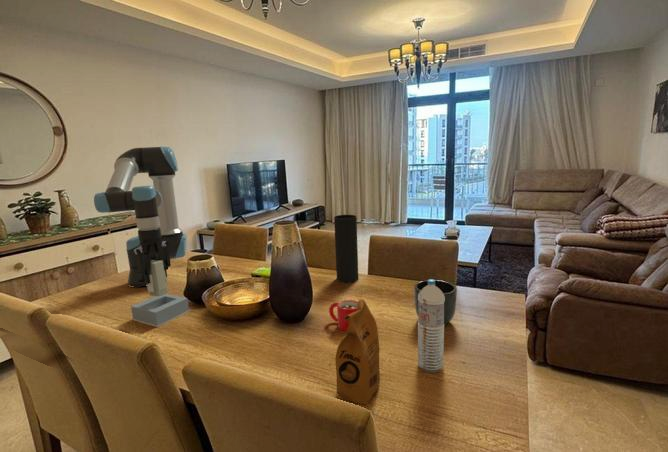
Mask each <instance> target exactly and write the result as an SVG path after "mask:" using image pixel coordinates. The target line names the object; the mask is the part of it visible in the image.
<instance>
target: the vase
mask: <svg viewBox="0 0 668 452" xmlns="http://www.w3.org/2000/svg"><path fill="white" fill-rule="evenodd" d="M333 219H334V220H333V221H334V222H333V223H334V244H335V245H334V247H335V265H336V266H335V269H336V270H335V271H336V280H338V282H339V281H340V282H339V283H342V282H344V283H343V284H351V282H352V283H355V281H356V282H358V280H359V256H358V255H359V254H358V225H357V223H358V222H357V219H358V218H357V215H355V214H339V215H335V216H334V217H333Z"/></svg>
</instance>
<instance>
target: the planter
mask: <svg viewBox="0 0 668 452" xmlns="http://www.w3.org/2000/svg"><path fill="white" fill-rule="evenodd" d="M428 280H429V279H427V280H421V281H418V282H416V283H415V284H414V287H413V291H414V292H413V293H414V296H413V297H414V308H415V312H416V315H417V316H418V309H419V301H418V294H419V292H420V291H421V290H422V289H423V288H424V287H425V286H427V285H428ZM434 280H435V286H436V287H438V288H439V289H440V290H441V291H442V292H443V294H444V296H445V302H444V327H445V326H447V324H448V323H450V322H451V321H452V319H453V318H454V316H455V313H456V308H457V307H456V306H457V297H458V296H457V295H458V290H457V289H458V288H457V286H456V284H453V283H451V282H449V281H444V280H441V279H440V280H438V279H434Z"/></svg>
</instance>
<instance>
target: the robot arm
mask: <svg viewBox="0 0 668 452" xmlns="http://www.w3.org/2000/svg"><path fill="white" fill-rule="evenodd" d="M177 162H178V161H177V158H176V155H175V152H174V150H173V148H171V147H170V146H154V147H153V146H152V147H150V146H149V147H135V148H131V149H129V150H126V151H124V152H123V153H122V154H120V155H118V157H117V158H116V160H115V162H114V164H113V168H114V170H113V174H112V176H111V178H110V180H109V182H108V185H107V187H106V189H105V192H103V191H102V192H97V193H95V195H93V202H94V204H93V205H94V209H95V210H96V212H98V213H101V214H102V213H103V214H104V213H105V214H106V213H109V214H110V213H116V212H117V213H119V212H128V211H129V212H130V211H134V213H135V221H136V227H137V229H138V231H137V235H136V236H133V237H130V238H129V239H127V241H126V245H125V246H126V249H125V250H126V253H127V259H128V265H129V273H128V279H127V286H128V285H130V286H134V287H139V286H146V285H147V287H146V288H147V291H148V292H149V291H150V292H154V285H153V278H152V275H151V274H150V265H151V261H152V260H160V261H163V266H164V272H165V278H166V279H167V278H168V273H167V272H168V270H169V268H170V267H172V265H171V260H172V259H173V260H174V259H175V260H176V259H181V258H184V257H185V256H186V253H187V241H188V239H187V234H186V233H184V232H183V230H182V229H181V228H180V226H179V220H178V212H177V206H176V196H175V188H174V181H173V179H174V178H175V176H176V172H178V171H179V168H178V163H177ZM137 174H147V175H148V178H150V180H152V184H153V185H139V186H134V187H132V189H131V190H130V188H131V186H132V182H133V180H134V177H136V176H137ZM167 284H168V283H167V281H166V285H167ZM167 286H168V285H167Z"/></svg>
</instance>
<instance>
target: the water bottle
mask: <svg viewBox="0 0 668 452" xmlns="http://www.w3.org/2000/svg"><path fill="white" fill-rule="evenodd" d="M427 280H428V285H427V286H425V287H424V288H423V289H422V290H421V291H420V292H419V294H418V301H419V309H418V315H417V316H418V321H417V364H418V367H419V368H420V369H421V371H423V372H427V373H433V374H434V373H440V372H441V371H442V370H443V368H444V361H445V360H444V356H445V354H444V353H445V352H444V351H445V350H444V349H445V326H444V302H445V296H444V294H443V292H442V291H441V290H440V289H439V288H438V287H436V286H435V280H436V279H432V278H431V279H430V278H429V279H427Z"/></svg>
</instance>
